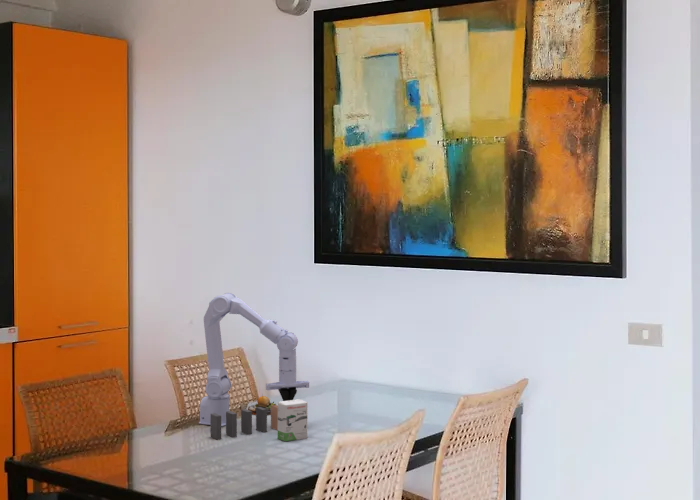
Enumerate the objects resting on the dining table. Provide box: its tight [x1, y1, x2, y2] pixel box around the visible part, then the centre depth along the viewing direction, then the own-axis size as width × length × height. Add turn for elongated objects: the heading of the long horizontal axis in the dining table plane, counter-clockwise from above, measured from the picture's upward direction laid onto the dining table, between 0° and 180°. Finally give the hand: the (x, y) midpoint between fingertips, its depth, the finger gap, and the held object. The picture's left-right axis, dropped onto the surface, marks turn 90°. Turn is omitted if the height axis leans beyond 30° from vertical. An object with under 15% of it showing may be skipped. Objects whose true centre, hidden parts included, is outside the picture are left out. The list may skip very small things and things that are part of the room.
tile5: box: [210, 413, 222, 441], centre depth 299 cm, size 2×4×8 cm, turn 34°
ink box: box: [277, 398, 308, 442], centre depth 299 cm, size 9×5×12 cm, turn 123°
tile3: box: [240, 408, 253, 436], centre depth 305 cm, size 2×4×8 cm, turn 34°
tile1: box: [270, 404, 278, 431], centre depth 311 cm, size 2×4×8 cm, turn 34°
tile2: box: [255, 407, 268, 434], centre depth 308 cm, size 2×4×8 cm, turn 35°
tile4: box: [225, 410, 238, 438], centre depth 302 cm, size 2×4×8 cm, turn 35°
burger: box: [247, 394, 278, 416], centre depth 336 cm, size 12×12×8 cm
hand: (287, 410), depth 314 cm, fingers closed
